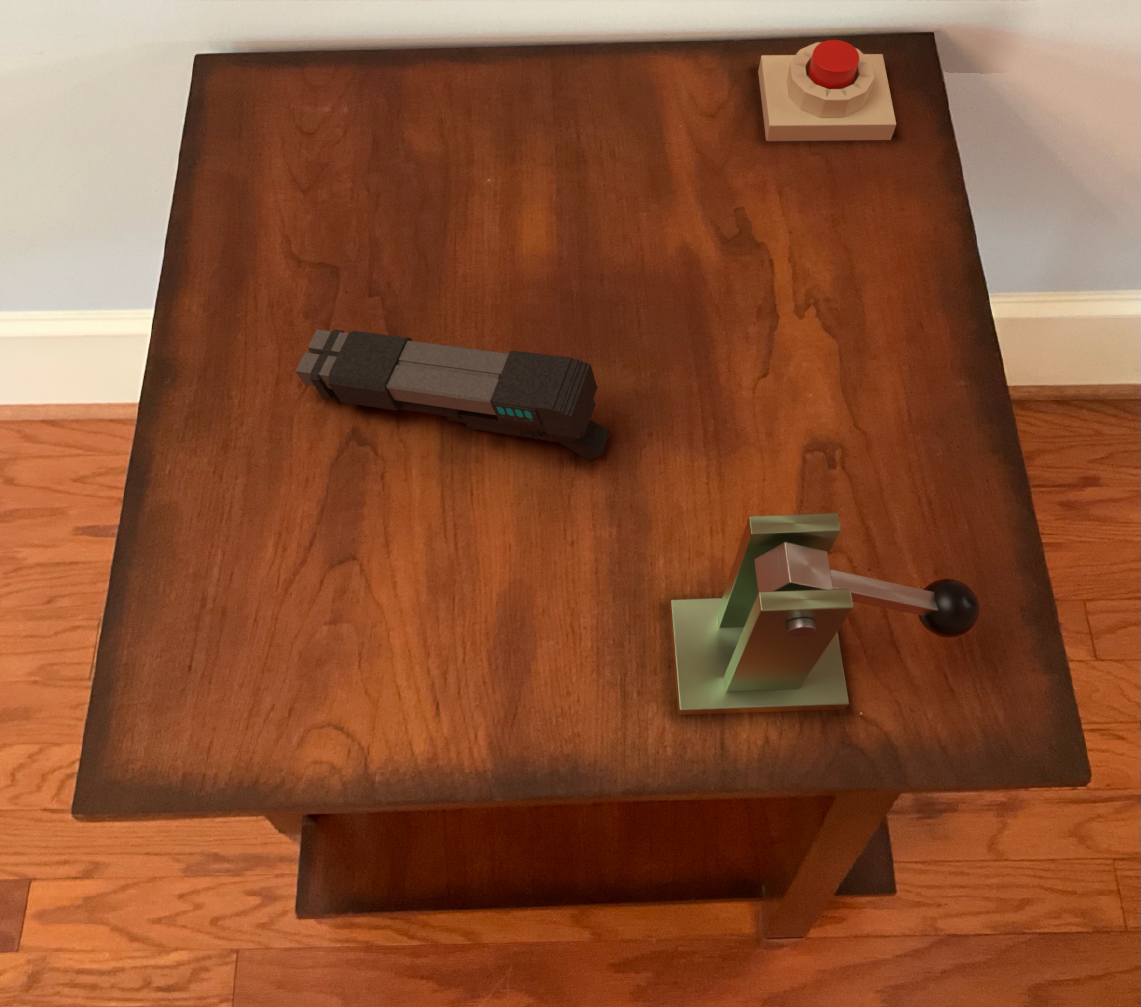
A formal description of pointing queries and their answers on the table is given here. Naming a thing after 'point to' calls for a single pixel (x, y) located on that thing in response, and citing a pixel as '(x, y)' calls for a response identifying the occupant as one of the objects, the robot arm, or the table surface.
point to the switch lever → (869, 588)
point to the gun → (460, 385)
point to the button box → (824, 101)
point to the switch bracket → (763, 633)
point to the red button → (833, 64)
